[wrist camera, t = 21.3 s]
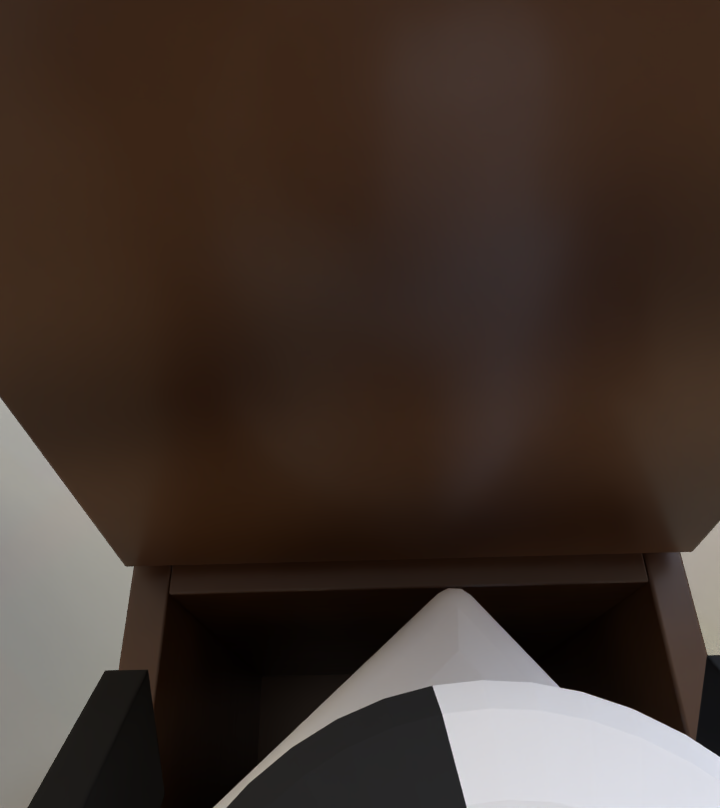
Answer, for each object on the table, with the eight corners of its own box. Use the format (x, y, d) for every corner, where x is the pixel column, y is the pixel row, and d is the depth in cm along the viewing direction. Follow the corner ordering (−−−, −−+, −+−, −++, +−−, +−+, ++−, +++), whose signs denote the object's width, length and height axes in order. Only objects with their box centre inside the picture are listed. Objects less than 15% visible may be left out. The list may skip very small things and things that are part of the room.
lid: (1556, -411, 4) (1423, -415, 4) (-552, -340, 4) (-456, -353, 5) (692, 553, 15) (681, 520, 15) (124, 567, 15) (131, 535, 15)
